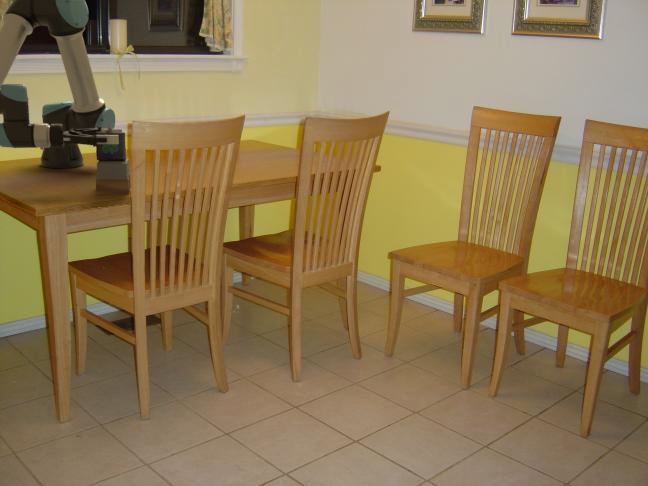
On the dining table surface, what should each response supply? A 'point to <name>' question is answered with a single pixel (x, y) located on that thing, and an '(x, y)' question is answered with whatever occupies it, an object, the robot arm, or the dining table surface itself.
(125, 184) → the tower base
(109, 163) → the tower top
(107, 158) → the flask
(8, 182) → the dining table surface
